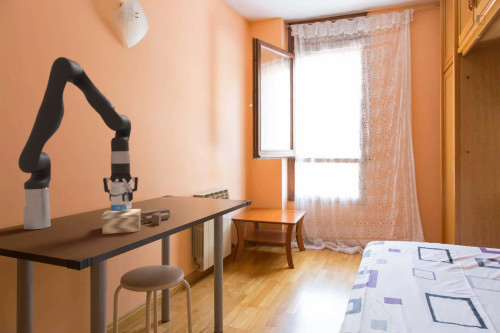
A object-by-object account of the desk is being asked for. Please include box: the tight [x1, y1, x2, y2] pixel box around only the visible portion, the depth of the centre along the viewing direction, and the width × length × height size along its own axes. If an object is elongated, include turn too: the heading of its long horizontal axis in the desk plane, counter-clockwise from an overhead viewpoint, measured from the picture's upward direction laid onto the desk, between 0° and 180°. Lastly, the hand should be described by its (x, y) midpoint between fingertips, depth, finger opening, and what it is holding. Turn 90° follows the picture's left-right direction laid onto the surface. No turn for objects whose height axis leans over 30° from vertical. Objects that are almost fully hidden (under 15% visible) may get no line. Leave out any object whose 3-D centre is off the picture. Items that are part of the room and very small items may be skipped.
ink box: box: [109, 180, 133, 211], centre depth 144 cm, size 8×5×12 cm, turn 169°
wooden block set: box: [140, 207, 171, 226], centre depth 162 cm, size 17×6×18 cm
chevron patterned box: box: [100, 208, 142, 235], centre depth 145 cm, size 15×15×7 cm
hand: (121, 201), depth 144 cm, fingers closed on ink box, 6 cm apart
